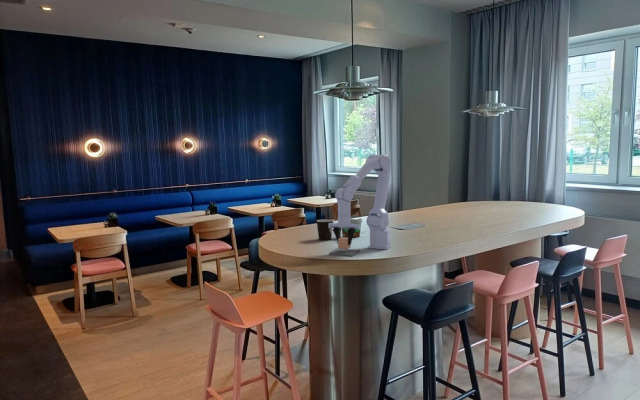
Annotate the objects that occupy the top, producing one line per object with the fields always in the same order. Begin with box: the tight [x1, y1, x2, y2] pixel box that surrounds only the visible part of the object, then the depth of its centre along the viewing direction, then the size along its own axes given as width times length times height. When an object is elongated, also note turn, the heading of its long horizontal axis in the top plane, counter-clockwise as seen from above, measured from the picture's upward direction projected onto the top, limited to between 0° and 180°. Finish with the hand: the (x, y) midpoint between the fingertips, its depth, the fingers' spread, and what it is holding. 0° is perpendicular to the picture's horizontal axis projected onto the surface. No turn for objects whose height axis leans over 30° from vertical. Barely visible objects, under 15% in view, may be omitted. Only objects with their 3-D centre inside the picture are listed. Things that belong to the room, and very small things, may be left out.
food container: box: [341, 218, 363, 239], centre depth 250 cm, size 12×6×10 cm, turn 101°
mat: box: [328, 247, 361, 257], centre depth 212 cm, size 11×11×1 cm
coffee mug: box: [316, 219, 334, 242], centre depth 245 cm, size 12×9×10 cm
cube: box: [337, 236, 351, 249], centre depth 212 cm, size 4×4×4 cm
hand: (344, 244), depth 212 cm, fingers closed on cube, 4 cm apart
